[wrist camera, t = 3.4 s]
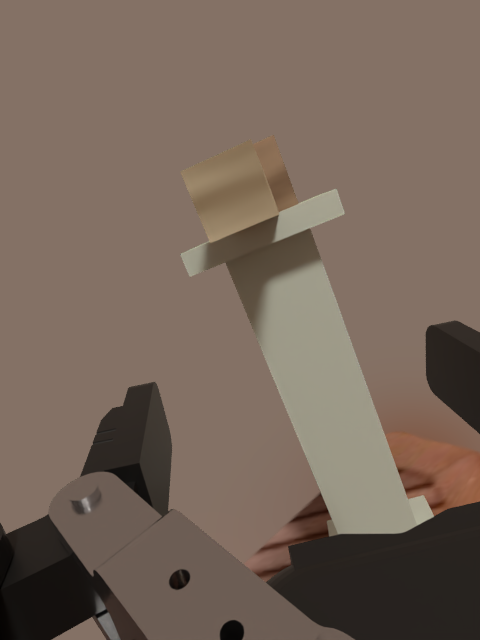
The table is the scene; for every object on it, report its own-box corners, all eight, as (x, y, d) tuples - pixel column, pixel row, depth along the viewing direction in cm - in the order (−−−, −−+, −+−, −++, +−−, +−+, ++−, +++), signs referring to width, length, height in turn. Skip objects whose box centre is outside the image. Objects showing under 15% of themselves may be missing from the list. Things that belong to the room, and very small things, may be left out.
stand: (479, 609, 30) (336, 188, 23) (347, 636, 32) (179, 254, 25) (427, 504, 40) (318, 195, 34) (330, 529, 42) (209, 240, 36)
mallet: (314, 199, 16) (268, 67, 15) (177, 256, 17) (125, 137, 16) (295, 204, 34) (274, 145, 33) (230, 232, 35) (207, 175, 34)
